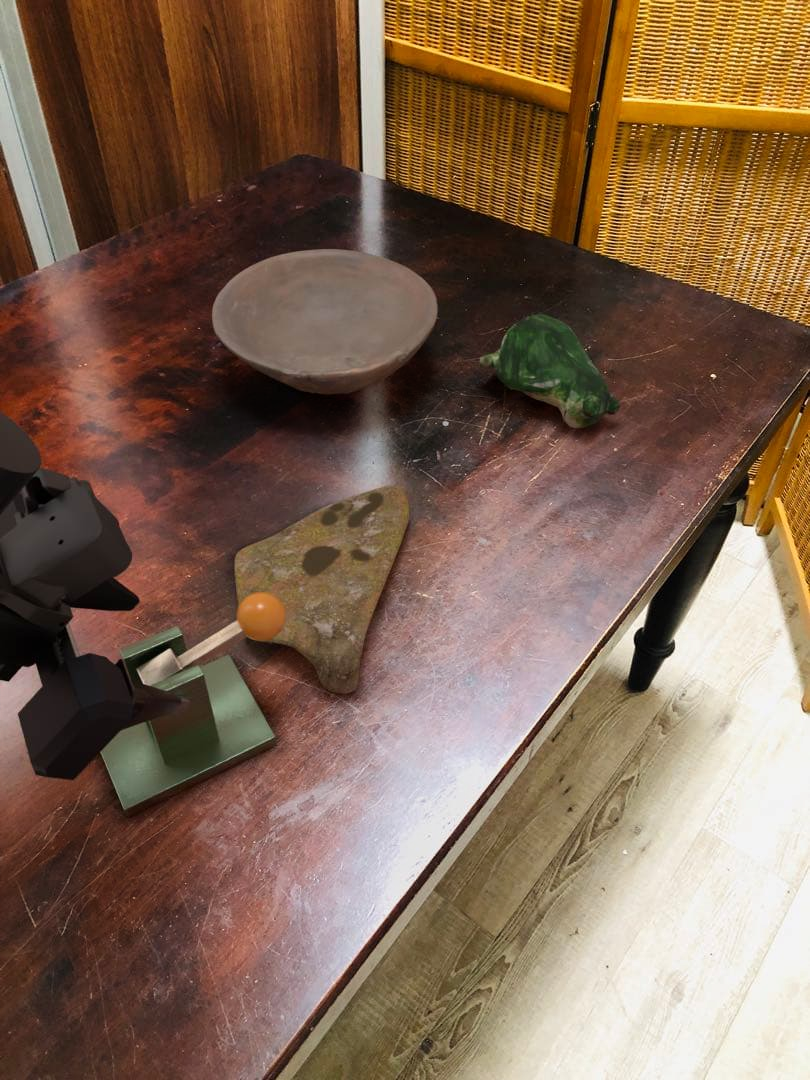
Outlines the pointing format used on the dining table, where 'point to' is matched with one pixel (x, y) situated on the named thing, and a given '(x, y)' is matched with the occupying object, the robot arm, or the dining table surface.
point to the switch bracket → (184, 728)
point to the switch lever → (222, 638)
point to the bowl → (325, 318)
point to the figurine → (552, 370)
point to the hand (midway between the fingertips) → (155, 652)
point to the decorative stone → (329, 578)
